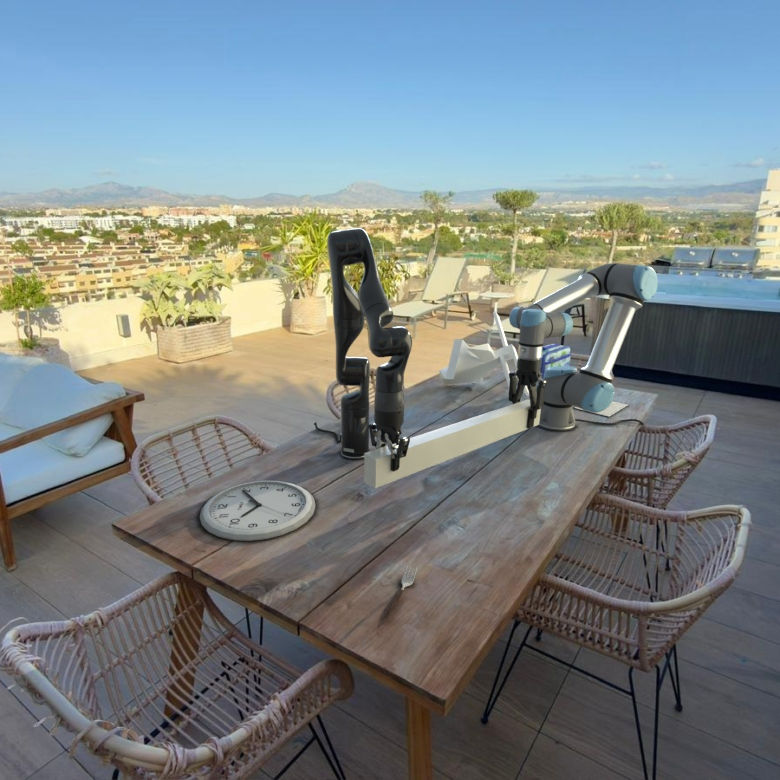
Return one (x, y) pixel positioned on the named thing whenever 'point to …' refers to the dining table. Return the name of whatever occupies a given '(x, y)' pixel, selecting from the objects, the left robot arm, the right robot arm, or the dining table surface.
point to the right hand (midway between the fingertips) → (523, 424)
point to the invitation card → (610, 408)
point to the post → (447, 443)
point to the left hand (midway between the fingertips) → (388, 466)
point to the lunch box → (554, 357)
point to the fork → (406, 582)
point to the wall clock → (257, 510)
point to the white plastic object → (478, 360)
